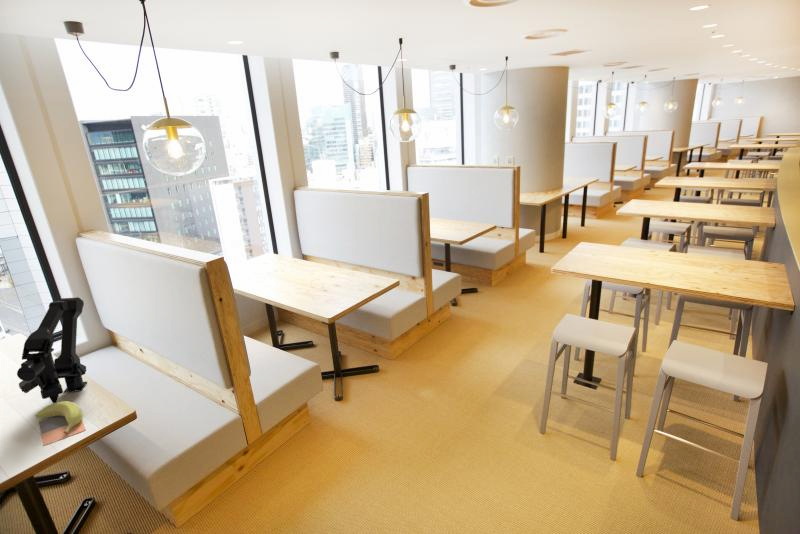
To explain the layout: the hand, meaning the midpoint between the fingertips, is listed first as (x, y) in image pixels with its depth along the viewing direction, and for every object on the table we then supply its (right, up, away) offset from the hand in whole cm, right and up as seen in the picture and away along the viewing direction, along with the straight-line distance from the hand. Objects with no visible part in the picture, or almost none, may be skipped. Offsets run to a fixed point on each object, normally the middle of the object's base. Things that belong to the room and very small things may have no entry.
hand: (54, 402), depth 169 cm
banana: (+9, -5, -8) cm, 13 cm away
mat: (+8, -5, -7) cm, 11 cm away
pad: (+14, -7, -13) cm, 20 cm away
